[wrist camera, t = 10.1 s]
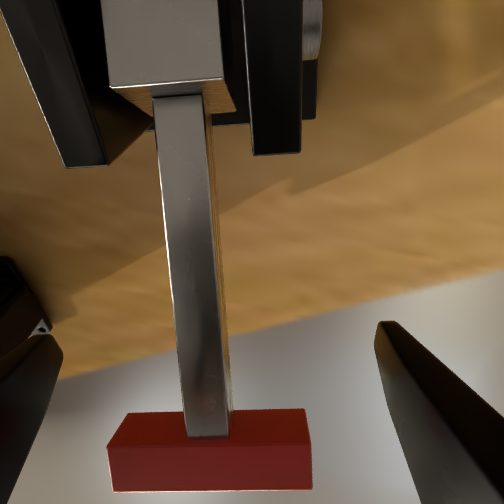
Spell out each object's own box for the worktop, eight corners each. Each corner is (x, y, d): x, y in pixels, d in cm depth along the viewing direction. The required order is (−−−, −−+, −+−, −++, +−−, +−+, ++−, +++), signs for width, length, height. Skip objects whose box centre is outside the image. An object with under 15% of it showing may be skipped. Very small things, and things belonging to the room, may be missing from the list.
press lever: (304, 436, 10) (316, 512, 7) (140, 440, 10) (100, 514, 8) (287, -15, 8) (295, -108, 5) (84, 3, 8) (9, -75, 6)
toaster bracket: (312, 113, 15) (368, 207, 7) (140, 125, 15) (24, 227, 8) (318, -109, 11) (457, -409, 3) (86, -84, 11) (-261, -298, 4)
